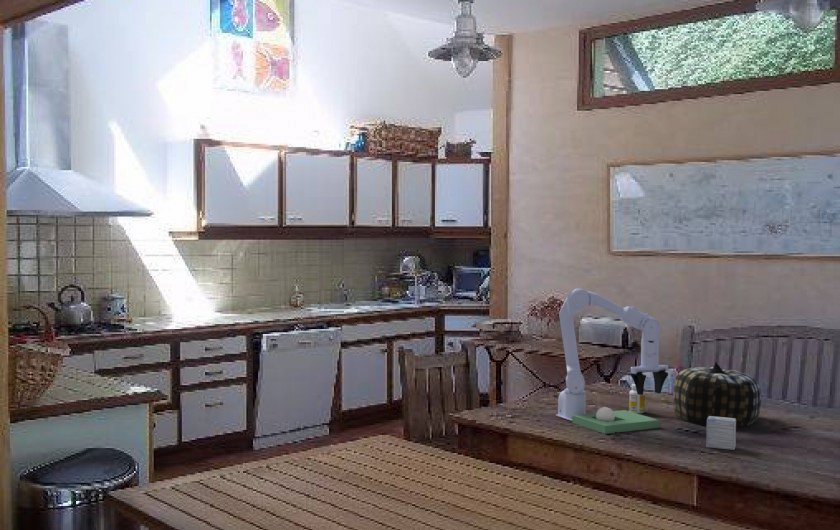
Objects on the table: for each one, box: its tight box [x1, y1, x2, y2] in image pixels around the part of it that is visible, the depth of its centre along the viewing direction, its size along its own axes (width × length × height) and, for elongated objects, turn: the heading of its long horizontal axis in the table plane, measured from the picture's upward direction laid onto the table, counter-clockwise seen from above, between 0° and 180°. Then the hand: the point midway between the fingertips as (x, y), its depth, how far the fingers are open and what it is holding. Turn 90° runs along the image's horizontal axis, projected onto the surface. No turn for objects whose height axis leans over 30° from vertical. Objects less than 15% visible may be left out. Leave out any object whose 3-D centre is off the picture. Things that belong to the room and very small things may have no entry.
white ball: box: [595, 406, 615, 422], centre depth 278 cm, size 6×6×6 cm
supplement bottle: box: [628, 383, 646, 414], centre depth 301 cm, size 5×5×10 cm
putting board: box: [571, 409, 660, 435], centre depth 279 cm, size 17×22×2 cm
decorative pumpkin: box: [673, 361, 762, 427], centre depth 292 cm, size 30×29×20 cm
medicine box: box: [705, 416, 737, 451], centre depth 252 cm, size 8×4×9 cm, turn 65°
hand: (649, 393), depth 285 cm, fingers open, 7 cm apart
